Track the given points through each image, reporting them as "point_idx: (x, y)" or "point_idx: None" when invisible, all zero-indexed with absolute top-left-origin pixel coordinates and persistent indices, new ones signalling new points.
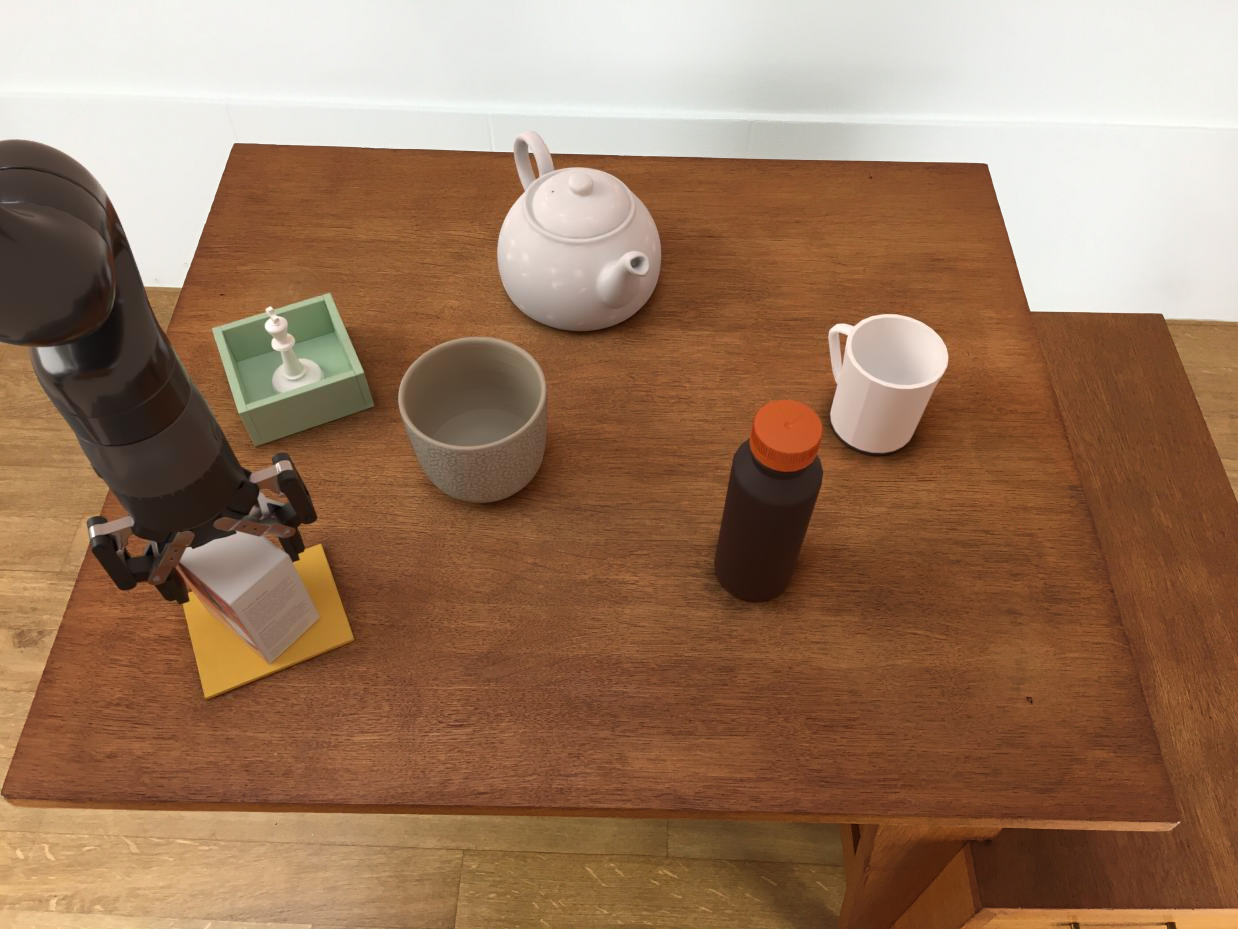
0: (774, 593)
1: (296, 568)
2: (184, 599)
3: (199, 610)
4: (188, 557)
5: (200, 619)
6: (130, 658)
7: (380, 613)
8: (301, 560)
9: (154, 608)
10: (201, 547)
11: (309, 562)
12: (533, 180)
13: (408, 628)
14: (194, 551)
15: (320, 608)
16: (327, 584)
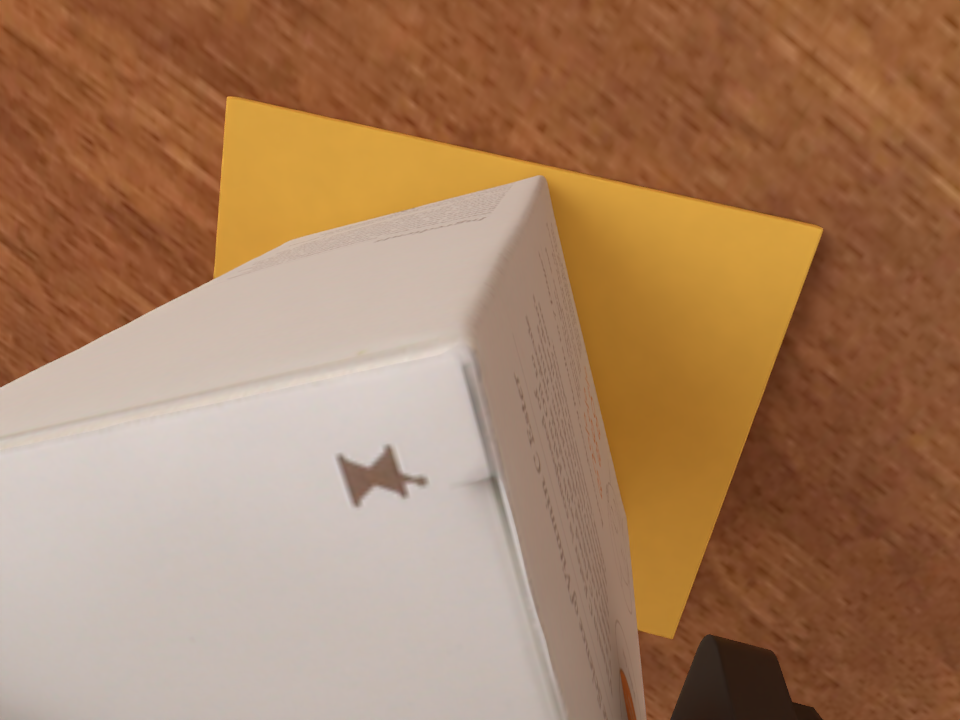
0: None
1: (668, 277)
2: None
3: (270, 210)
4: (2, 702)
5: (262, 250)
6: (21, 224)
7: (801, 605)
8: (706, 253)
9: (131, 73)
10: (117, 694)
11: (727, 283)
12: None
13: (836, 698)
14: (57, 688)
15: (645, 484)
16: (724, 419)
